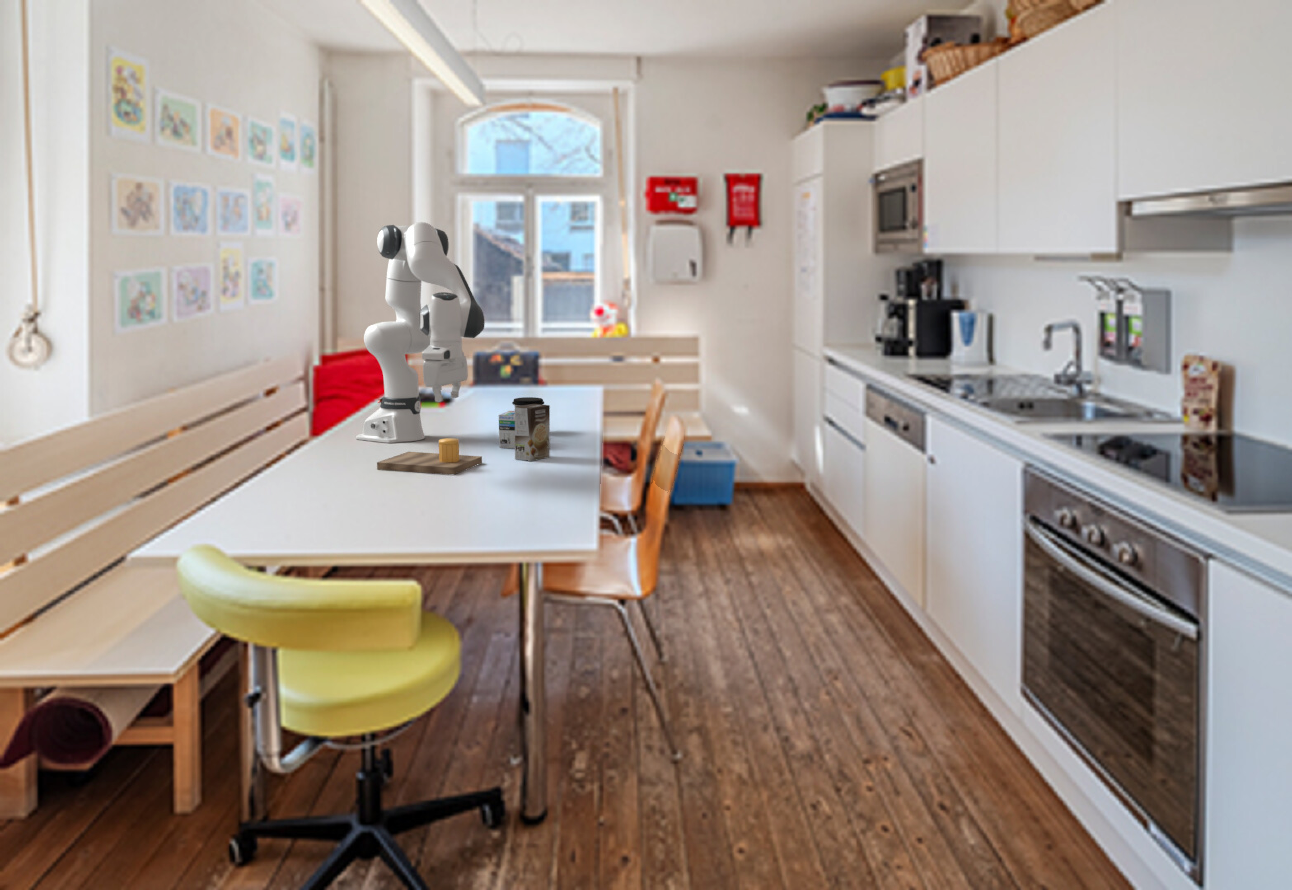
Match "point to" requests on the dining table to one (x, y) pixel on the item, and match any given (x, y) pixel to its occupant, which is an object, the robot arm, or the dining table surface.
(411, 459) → the wooden peg board
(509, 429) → the light bulb box
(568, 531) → the dining table surface
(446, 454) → the wire cap
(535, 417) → the coffee box
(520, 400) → the coffee cup
